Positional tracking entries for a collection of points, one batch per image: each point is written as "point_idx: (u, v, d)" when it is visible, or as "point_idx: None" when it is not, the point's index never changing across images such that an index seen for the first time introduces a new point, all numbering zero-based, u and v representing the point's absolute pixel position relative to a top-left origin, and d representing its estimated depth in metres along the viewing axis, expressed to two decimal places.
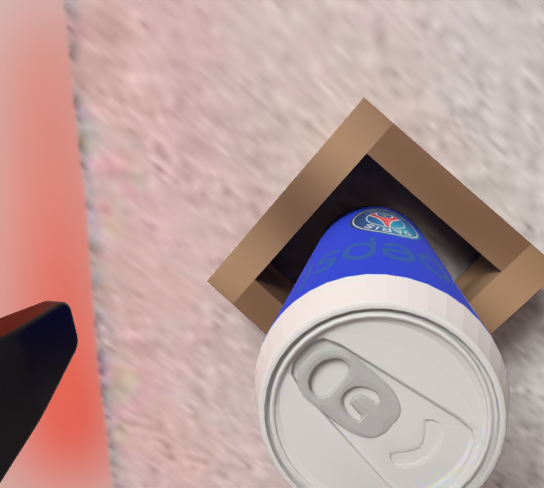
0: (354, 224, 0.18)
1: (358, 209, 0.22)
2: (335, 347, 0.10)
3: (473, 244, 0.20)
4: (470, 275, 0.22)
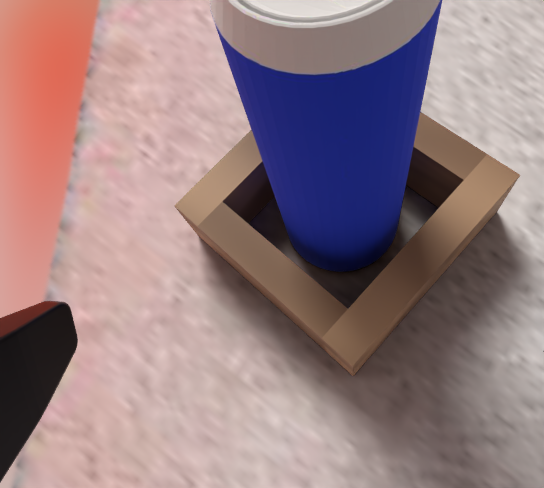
0: None
1: None
2: None
3: (433, 157, 0.21)
4: None
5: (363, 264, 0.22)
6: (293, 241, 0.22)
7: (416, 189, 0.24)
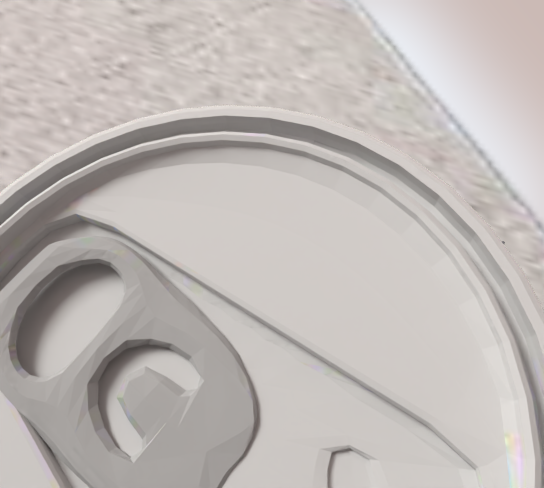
0: None
1: None
2: (100, 238, 0.04)
3: None
4: None
5: None
6: None
7: None
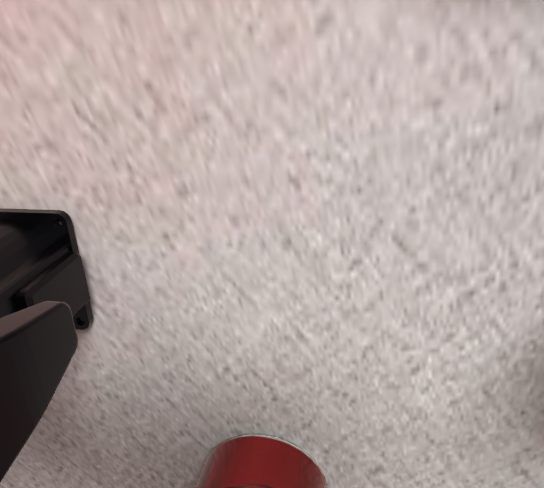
0: None
1: None
2: None
3: None
4: None
5: None
6: None
7: None
